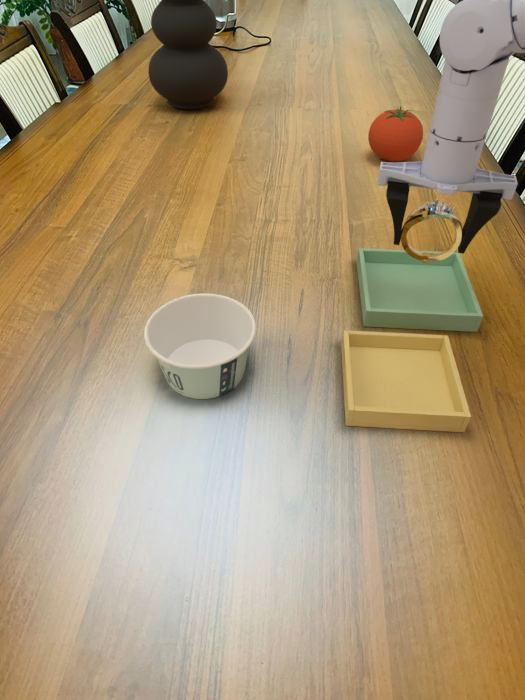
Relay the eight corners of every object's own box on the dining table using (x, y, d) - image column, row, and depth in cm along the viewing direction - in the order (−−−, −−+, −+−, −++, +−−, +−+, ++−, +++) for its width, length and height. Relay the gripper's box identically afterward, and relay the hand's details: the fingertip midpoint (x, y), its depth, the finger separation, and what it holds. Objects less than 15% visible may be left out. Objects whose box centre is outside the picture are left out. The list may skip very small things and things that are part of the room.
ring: (453, 259, 64) (471, 201, 59) (451, 273, 62) (470, 214, 56) (398, 249, 66) (410, 191, 60) (394, 262, 64) (406, 203, 58)
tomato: (354, 154, 103) (361, 102, 96) (395, 145, 106) (404, 94, 99) (386, 174, 96) (395, 120, 89) (428, 164, 99) (440, 110, 93)
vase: (220, 119, 117) (209, -81, 92) (142, 114, 119) (112, -83, 94) (235, 93, 130) (229, -88, 105) (165, 89, 132) (144, -89, 107)
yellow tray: (442, 351, 61) (448, 335, 60) (464, 432, 53) (471, 416, 51) (340, 346, 62) (343, 330, 60) (345, 425, 53) (348, 409, 51)
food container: (277, 366, 59) (279, 323, 55) (203, 427, 53) (197, 385, 48) (206, 321, 65) (202, 279, 61) (131, 372, 59) (120, 329, 54)
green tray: (454, 267, 74) (459, 252, 72) (477, 332, 64) (483, 316, 62) (356, 263, 75) (358, 248, 73) (363, 326, 65) (366, 310, 63)
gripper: (384, 139, 51) (365, 254, 61) (537, 153, 49) (492, 271, 58) (388, 115, 56) (370, 224, 66) (528, 127, 54) (488, 239, 63)
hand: (428, 244), depth 62 cm, fingers closed on ring, 7 cm apart
